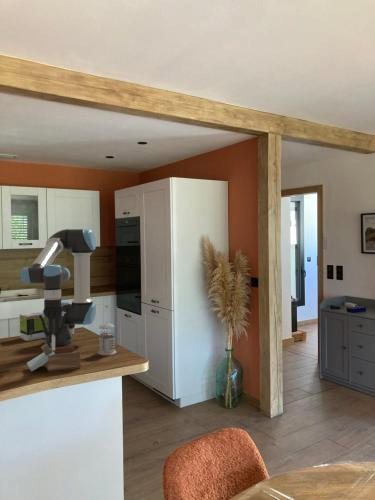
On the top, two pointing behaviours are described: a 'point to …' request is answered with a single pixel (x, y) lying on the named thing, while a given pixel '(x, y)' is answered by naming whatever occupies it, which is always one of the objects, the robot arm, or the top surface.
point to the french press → (106, 340)
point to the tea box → (32, 326)
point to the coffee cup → (71, 328)
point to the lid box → (63, 359)
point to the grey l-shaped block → (41, 358)
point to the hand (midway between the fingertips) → (53, 349)
